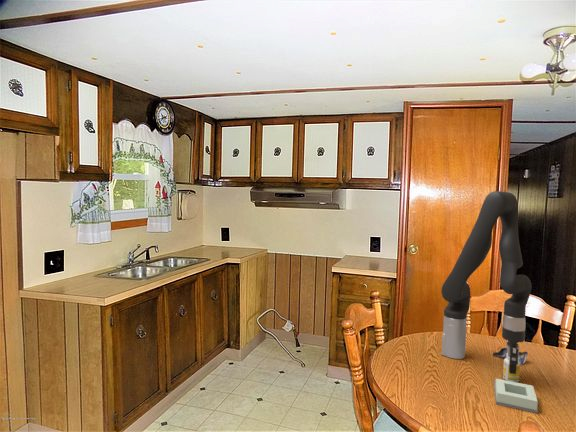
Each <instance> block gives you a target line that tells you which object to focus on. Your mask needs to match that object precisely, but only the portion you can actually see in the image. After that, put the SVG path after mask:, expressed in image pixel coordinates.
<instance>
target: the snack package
mask: <svg viewBox="0 0 576 432" xmlns="http://www.w3.org/2000/svg"><path fill="white" fill-rule="evenodd" d="M507 352H508V351H507V347H502V348H501V349H500V350H499V351H498V352H497V351H495V352H492V353H493V354H492V356H493V357H498V358H501V359H502V358H503V359H505V358H507V357H506V354H507ZM527 358H528V351H523V352H521V351H519V357H518V361H519V362H520V365H524V364H525V363H526V360H527Z"/></svg>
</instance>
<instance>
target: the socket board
mask: <svg viewBox="0 0 576 432" xmlns="http://www.w3.org/2000/svg"><path fill="white" fill-rule="evenodd" d="M493 386H494V396H495V397H494V398H495V405H498V406H503V407H508V408H513V409H516V410H522V411H527V412H531V413H535V414H539V409H538V398H537V395H536V392H535V391H536V390H535V387H534V385H531V384H526V383H520V382H511V381H507V380H505V379H500V378H495V380H493Z"/></svg>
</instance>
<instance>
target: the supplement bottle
mask: <svg viewBox="0 0 576 432" xmlns="http://www.w3.org/2000/svg"><path fill="white" fill-rule="evenodd" d="M506 357H507V358H503V372H502V377H503V380H506V381H511V382H516V383H519V381H520V372H521V371H520V368H521V364H520V362H519V361H518V365H516V374H512V373H509V357H508V353H507V354H506ZM512 360H513V361H515V358H512Z"/></svg>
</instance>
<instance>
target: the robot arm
mask: <svg viewBox="0 0 576 432" xmlns="http://www.w3.org/2000/svg"><path fill="white" fill-rule="evenodd" d="M499 218H500V222H501V234H500V238H499V245H498V246H499V247H498V248H499V255H500V261H501V268H500V269H501V270H500V276H499V277H500V279H499V282H500V286H501V289H502V291H503V292H504V293H505V294H508V295H510V296H511V297H509V298H507V299H506V300H505V301H504V304H503V317H502V329H501V338H502V339H503V340H506V343H505V344H506V348H507V351H508V352H507V353H508V357H509V373H512V374H516V365H518V357H519V352H520V346H519V343H523V342H525V340H526V339H525V338H526V310H527V309H526V306H527V304H528V302H529V298H530V295H531V292H532V283H531V282H532V281H531V280H530V278H529V277H528V276H527V275H525V274H517V270H518V269H520V268H521V267H523V264H524V262H523V257H522V256H523V255H522V252H521V246H520V239H519V203H518V199H517V197H516V195H515V194H513V193H511V192H508V191H501V190H496V191H491V192H489V193H488V194H486V196H485V198H484V200H483V203H482V205H481V208H480V210H479V213H478V217H477V219H476V221H475V223H474V225H473V227H472V229H471V232H470V233H469V236H468V238H467V240H466V241H465V243H464V245H463V247H462V249H461V252H460V254H459V256H458V258H457V259H456V262H455V264H454V265H453V267H452V269H451V271H450V272H449V275H447V277H446V279H445V281H444V282H443V283H442V286H441V295H442V296H441V297H442V298H443V299H444V300H445V301H446V302H447V305H446V306H445V307H444V309H443V323H442V325H443V327H442V341H441V343H442V344H441V355H442V356H444V357H447V358H450V359H456V360H460V359H465V357H466V343H467V342H466V339H467V320H468V313H469V311H470V305H471V304H470V303H471V287H470V285H469V283H468V282H467V281H468V280H469V278H470V277H471V276H472V274H474V273H475V271H477V270H478V269H479V267H481V265H482V264H483V262H484V261H485V259H486V258H487V255H488V254H489V253H490V250H491V247H492V245H493V229H494V227H495V225H496V223H497V221H498V219H499ZM512 358H515V361H513V360H512Z"/></svg>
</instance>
